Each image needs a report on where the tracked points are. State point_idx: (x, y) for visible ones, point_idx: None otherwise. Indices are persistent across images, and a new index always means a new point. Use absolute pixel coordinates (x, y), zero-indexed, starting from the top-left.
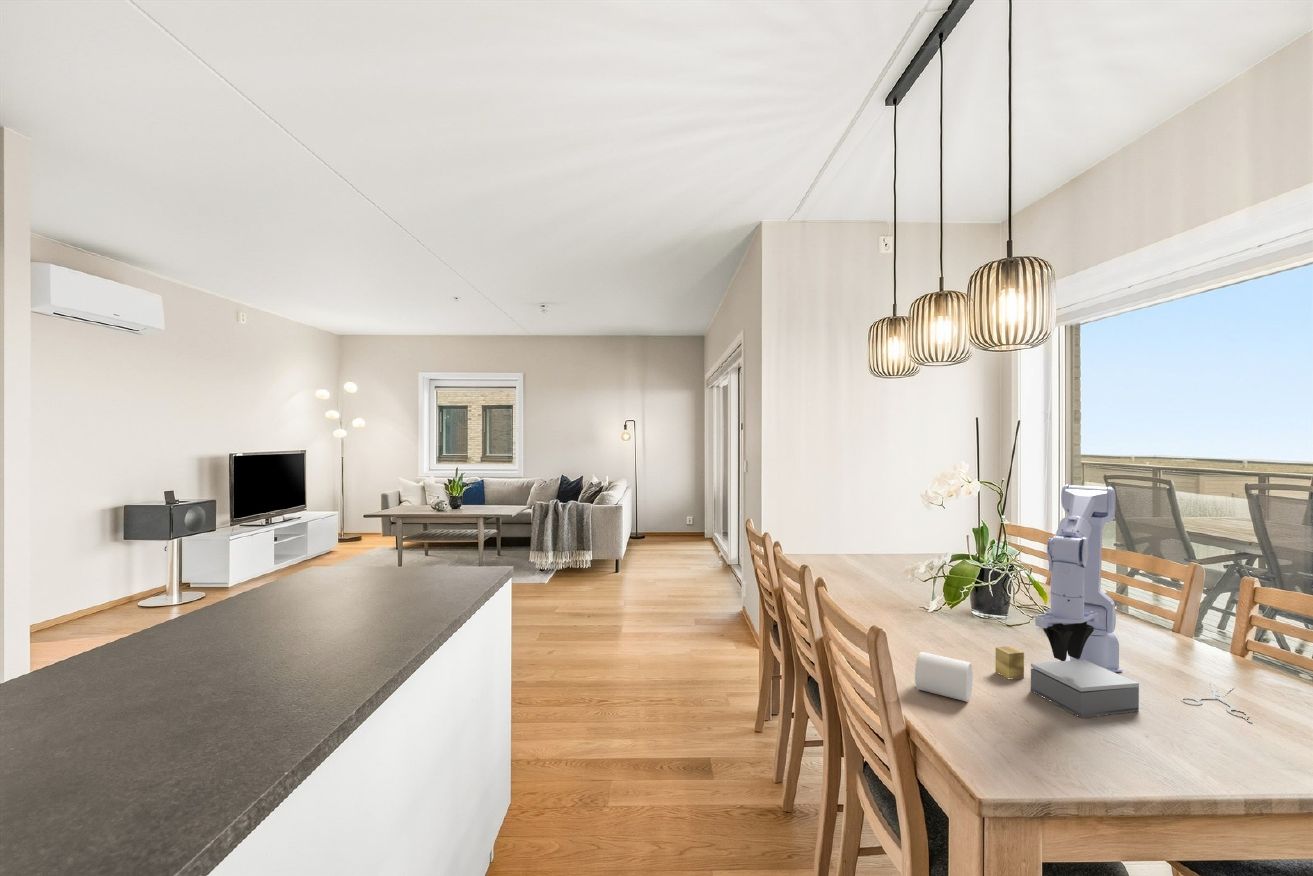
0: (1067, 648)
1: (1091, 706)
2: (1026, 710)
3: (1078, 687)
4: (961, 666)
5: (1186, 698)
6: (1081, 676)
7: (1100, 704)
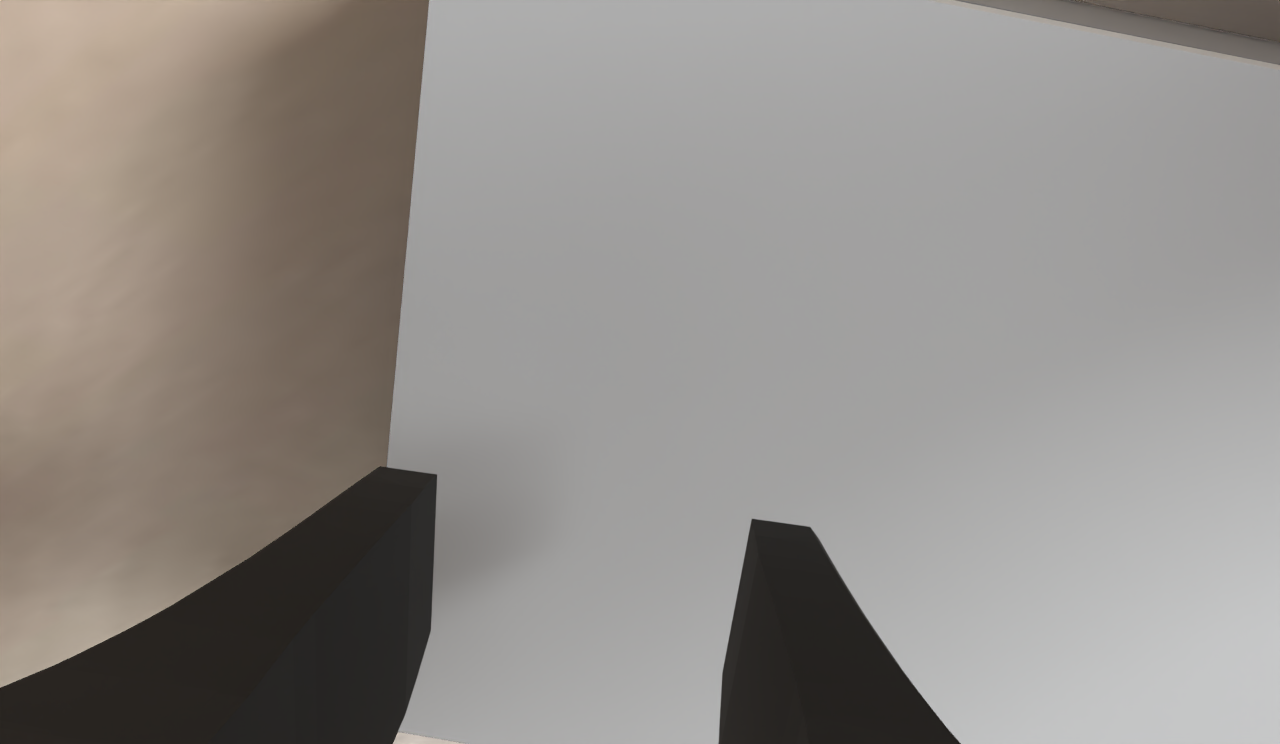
0: (759, 588)
1: None
2: (68, 214)
3: None
4: None
5: None
6: (740, 547)
7: None
